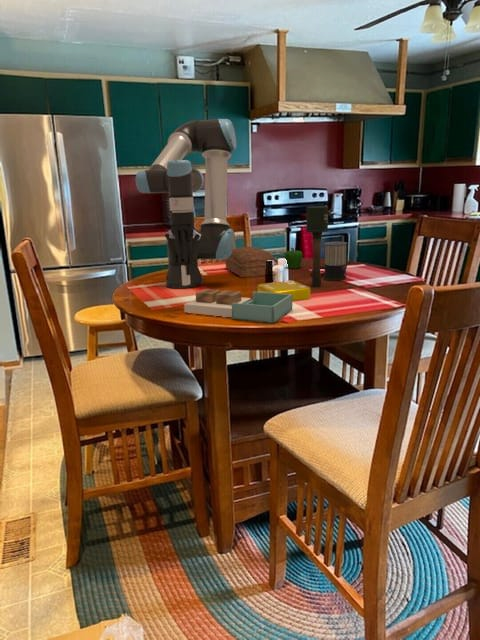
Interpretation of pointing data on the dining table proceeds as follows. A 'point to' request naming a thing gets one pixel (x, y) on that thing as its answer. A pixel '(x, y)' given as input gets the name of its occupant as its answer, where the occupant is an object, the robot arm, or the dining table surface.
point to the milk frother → (335, 261)
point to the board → (211, 308)
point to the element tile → (287, 289)
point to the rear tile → (207, 295)
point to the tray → (263, 307)
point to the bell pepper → (293, 258)
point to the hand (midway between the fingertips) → (186, 284)
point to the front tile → (228, 297)
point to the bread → (248, 261)
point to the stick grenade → (317, 236)
